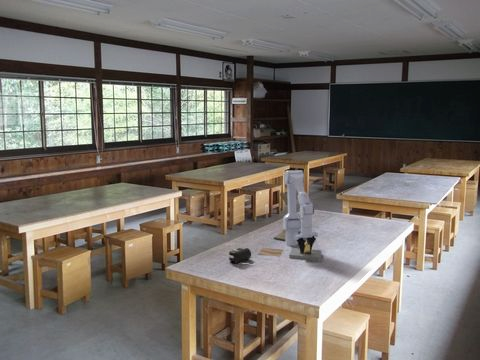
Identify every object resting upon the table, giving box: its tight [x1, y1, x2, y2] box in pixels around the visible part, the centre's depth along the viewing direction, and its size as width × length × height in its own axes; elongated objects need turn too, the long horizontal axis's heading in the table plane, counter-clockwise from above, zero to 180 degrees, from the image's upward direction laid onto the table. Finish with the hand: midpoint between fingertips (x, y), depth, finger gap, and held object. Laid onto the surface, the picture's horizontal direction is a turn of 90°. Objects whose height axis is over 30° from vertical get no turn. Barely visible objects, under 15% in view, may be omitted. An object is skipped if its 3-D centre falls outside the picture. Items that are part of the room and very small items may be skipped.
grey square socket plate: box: [288, 247, 322, 263], centre depth 251 cm, size 12×16×2 cm
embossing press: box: [273, 191, 301, 242], centre depth 287 cm, size 11×24×30 cm, turn 144°
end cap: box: [228, 247, 252, 265], centre depth 241 cm, size 10×7×7 cm
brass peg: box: [302, 241, 310, 255], centre depth 250 cm, size 4×4×7 cm
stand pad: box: [257, 247, 284, 257], centre depth 256 cm, size 12×12×1 cm
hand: (305, 250), depth 250 cm, fingers open, 5 cm apart
